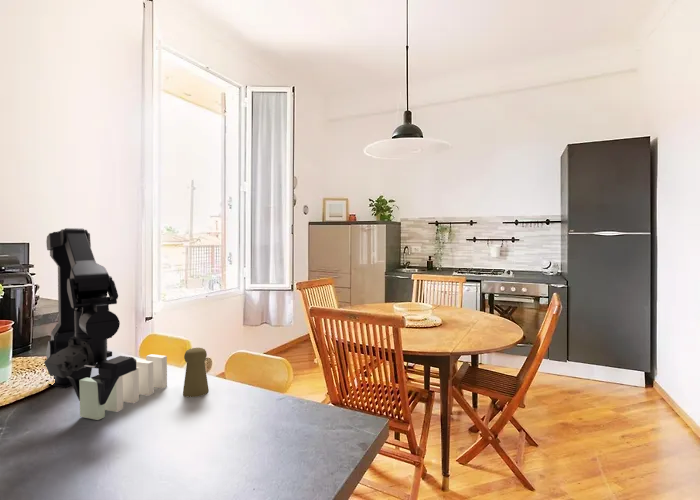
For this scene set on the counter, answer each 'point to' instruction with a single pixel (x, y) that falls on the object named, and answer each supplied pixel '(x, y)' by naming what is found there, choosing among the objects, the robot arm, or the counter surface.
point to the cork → (195, 373)
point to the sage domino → (90, 400)
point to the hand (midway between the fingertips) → (92, 402)
